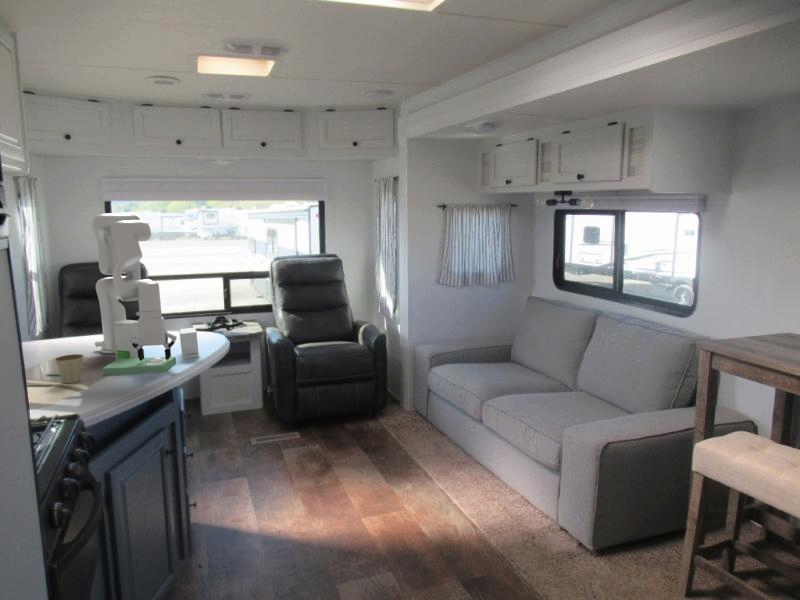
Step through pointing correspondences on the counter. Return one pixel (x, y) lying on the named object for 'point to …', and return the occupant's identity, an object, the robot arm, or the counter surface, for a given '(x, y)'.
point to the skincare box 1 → (125, 339)
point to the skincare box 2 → (189, 342)
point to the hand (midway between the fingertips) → (154, 359)
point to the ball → (157, 360)
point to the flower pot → (70, 367)
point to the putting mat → (138, 366)
